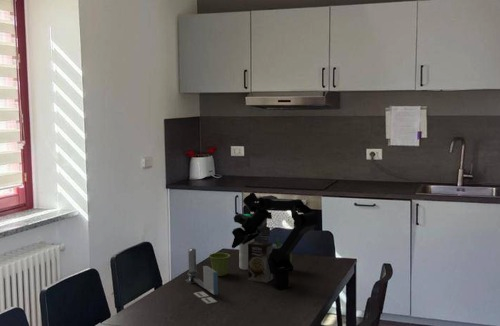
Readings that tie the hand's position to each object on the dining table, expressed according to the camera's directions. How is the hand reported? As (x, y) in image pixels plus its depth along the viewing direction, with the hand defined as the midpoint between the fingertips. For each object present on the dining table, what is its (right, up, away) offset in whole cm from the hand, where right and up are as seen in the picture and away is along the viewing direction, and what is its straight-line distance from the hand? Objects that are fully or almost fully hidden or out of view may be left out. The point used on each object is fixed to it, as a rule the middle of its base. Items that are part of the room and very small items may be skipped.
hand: (237, 245), depth 272 cm
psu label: (-14, -17, -23) cm, 32 cm away
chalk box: (+19, -13, +10) cm, 25 cm away
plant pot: (-8, -14, +5) cm, 17 cm away
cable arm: (-13, -15, -17) cm, 26 cm away
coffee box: (+10, -14, -4) cm, 18 cm away
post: (-19, -15, -5) cm, 25 cm away
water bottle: (+4, -12, +15) cm, 20 cm away
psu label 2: (-11, -17, -31) cm, 37 cm away
